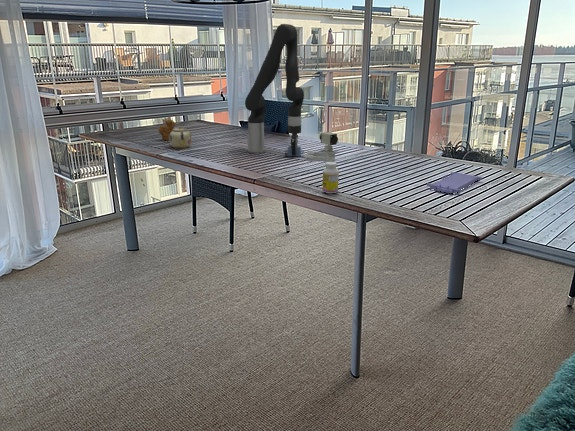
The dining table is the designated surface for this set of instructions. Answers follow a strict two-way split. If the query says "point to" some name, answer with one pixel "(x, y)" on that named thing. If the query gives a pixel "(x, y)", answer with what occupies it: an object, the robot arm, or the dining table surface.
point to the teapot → (180, 138)
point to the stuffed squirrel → (167, 129)
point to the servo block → (298, 151)
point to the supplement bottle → (330, 178)
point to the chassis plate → (320, 156)
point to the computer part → (454, 182)
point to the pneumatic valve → (328, 140)
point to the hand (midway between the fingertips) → (294, 154)
